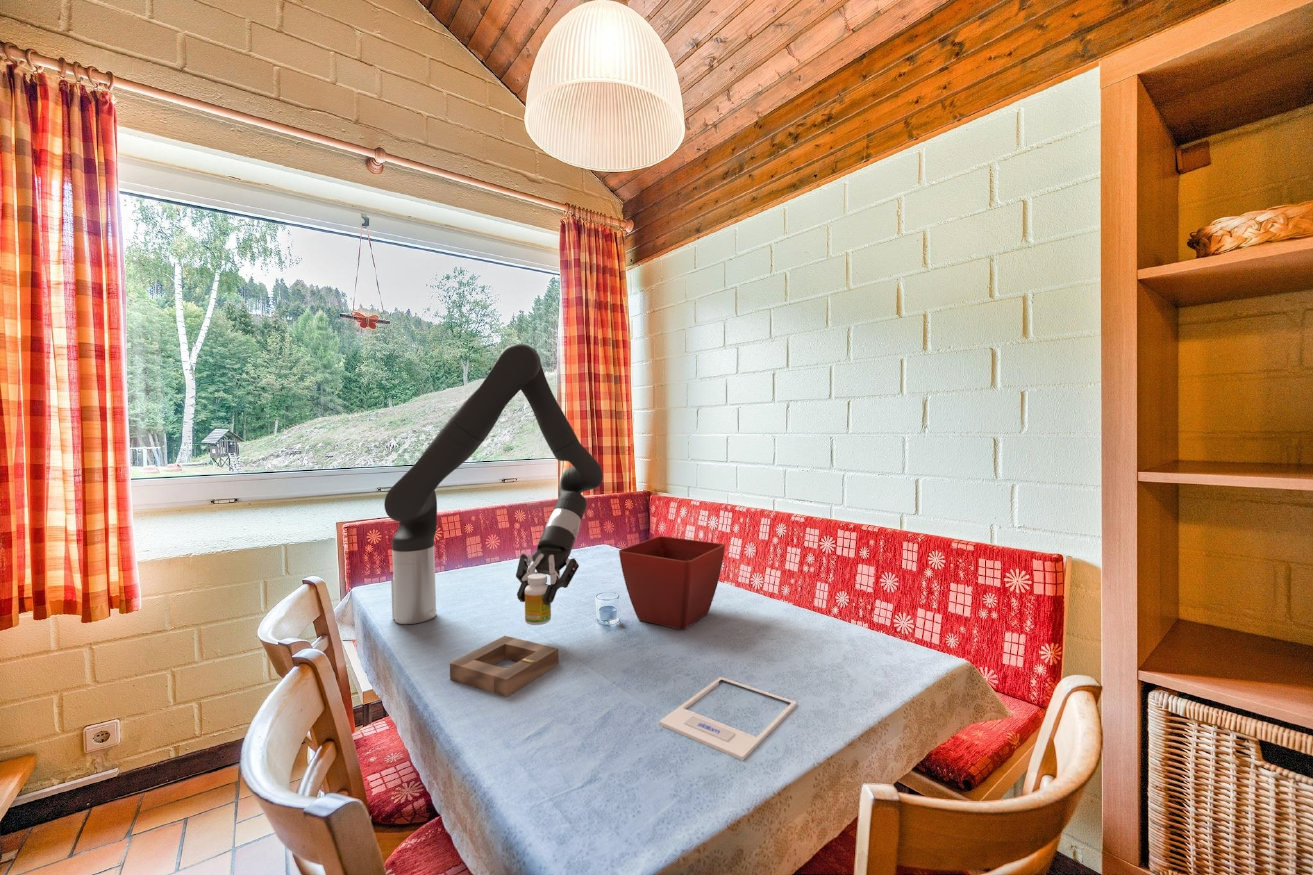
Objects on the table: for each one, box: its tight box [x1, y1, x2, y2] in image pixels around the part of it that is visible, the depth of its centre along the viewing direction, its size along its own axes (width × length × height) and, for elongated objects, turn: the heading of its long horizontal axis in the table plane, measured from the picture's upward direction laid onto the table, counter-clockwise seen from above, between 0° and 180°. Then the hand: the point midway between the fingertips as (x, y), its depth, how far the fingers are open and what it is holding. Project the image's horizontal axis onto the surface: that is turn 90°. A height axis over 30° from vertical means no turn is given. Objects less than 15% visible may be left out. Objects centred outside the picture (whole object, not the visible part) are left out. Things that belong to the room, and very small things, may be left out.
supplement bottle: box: [524, 573, 552, 626], centre depth 115 cm, size 5×5×10 cm
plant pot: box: [618, 535, 726, 631], centre depth 129 cm, size 19×19×17 cm
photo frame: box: [658, 676, 798, 761], centre depth 86 cm, size 15×1×18 cm
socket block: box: [449, 635, 560, 697], centre depth 102 cm, size 14×14×3 cm
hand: (533, 601), depth 113 cm, fingers closed on supplement bottle, 5 cm apart
